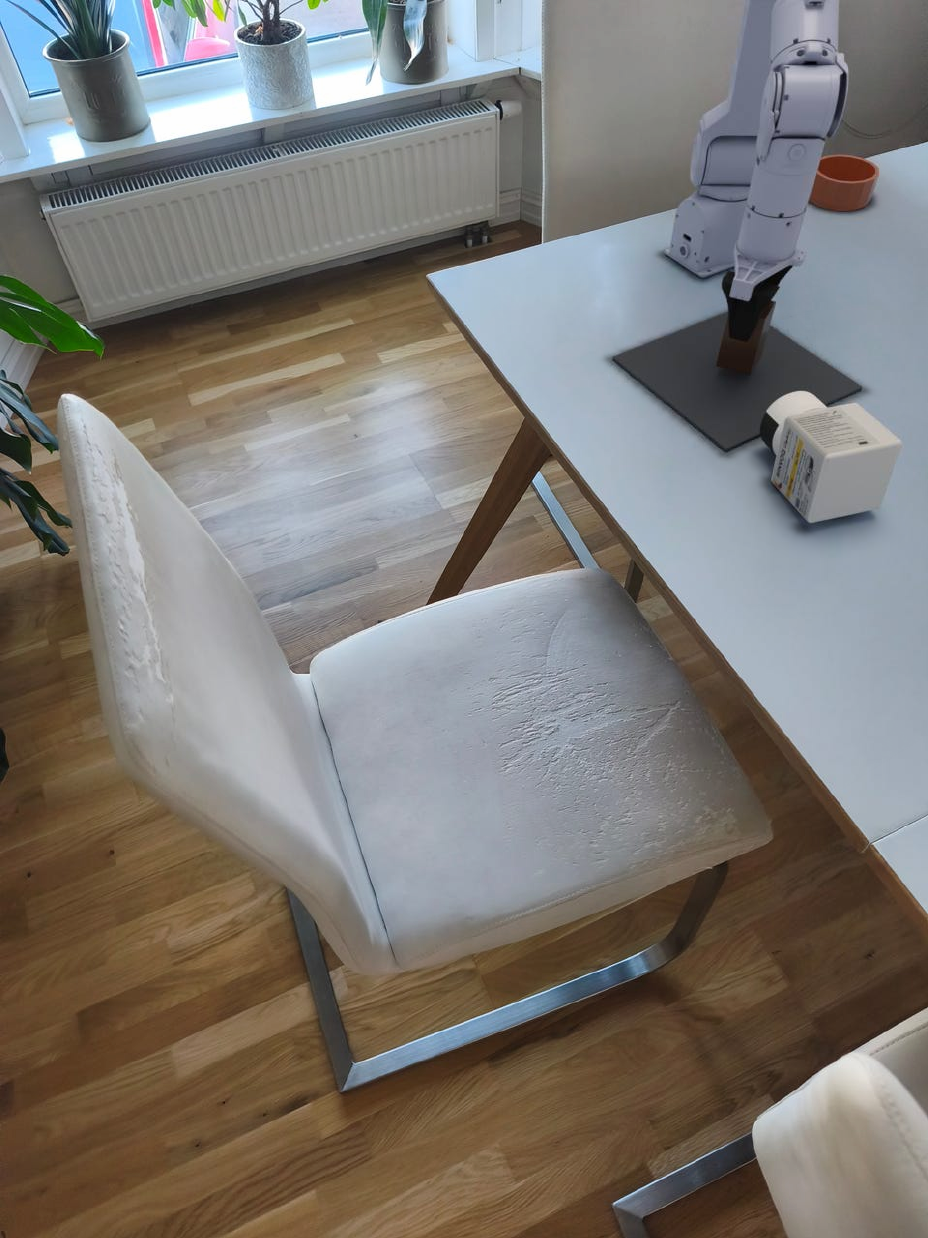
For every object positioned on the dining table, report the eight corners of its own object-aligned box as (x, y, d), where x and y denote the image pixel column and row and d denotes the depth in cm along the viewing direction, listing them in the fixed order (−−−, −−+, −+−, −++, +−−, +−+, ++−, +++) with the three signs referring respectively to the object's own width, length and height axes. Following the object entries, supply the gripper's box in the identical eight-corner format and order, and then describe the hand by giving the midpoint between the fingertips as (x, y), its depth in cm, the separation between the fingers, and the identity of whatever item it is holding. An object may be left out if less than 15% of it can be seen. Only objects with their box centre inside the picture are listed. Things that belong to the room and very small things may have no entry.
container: (808, 525, 82) (744, 454, 91) (881, 509, 83) (811, 441, 92) (827, 457, 76) (757, 388, 85) (905, 441, 77) (827, 375, 86)
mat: (725, 451, 90) (726, 448, 90) (612, 359, 101) (612, 356, 101) (861, 389, 96) (862, 386, 96) (740, 308, 107) (741, 305, 107)
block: (750, 375, 96) (765, 319, 90) (715, 366, 97) (728, 310, 91) (760, 357, 98) (776, 301, 92) (727, 348, 99) (740, 292, 94)
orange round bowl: (837, 217, 121) (846, 188, 118) (791, 192, 126) (799, 164, 123) (883, 200, 124) (893, 171, 121) (836, 176, 129) (844, 149, 126)
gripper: (796, 246, 78) (760, 372, 89) (837, 181, 86) (799, 304, 97) (721, 230, 81) (696, 354, 91) (768, 168, 88) (739, 290, 99)
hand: (745, 328), depth 94 cm, fingers closed on block, 4 cm apart
